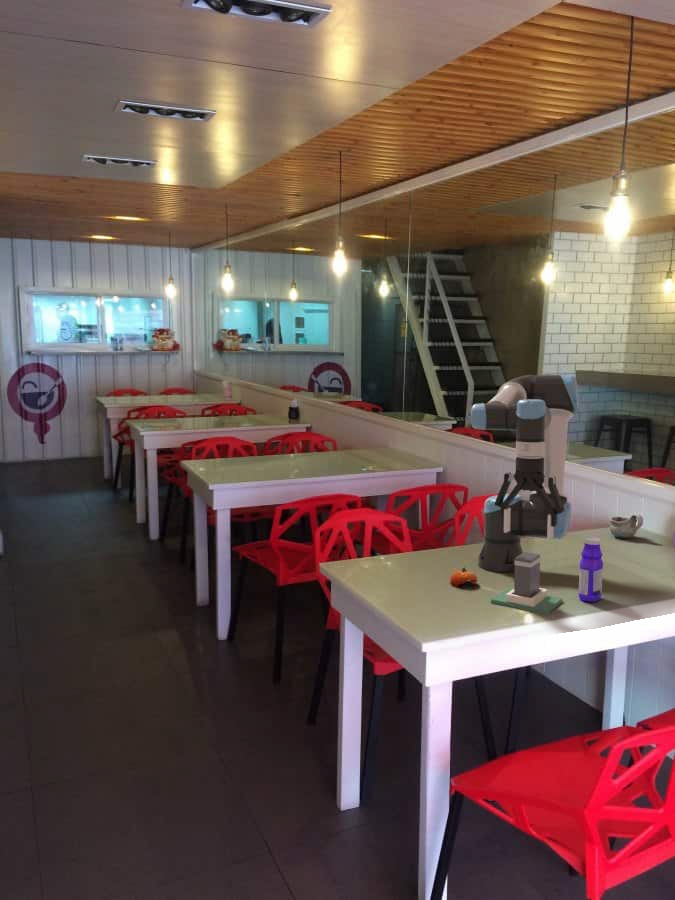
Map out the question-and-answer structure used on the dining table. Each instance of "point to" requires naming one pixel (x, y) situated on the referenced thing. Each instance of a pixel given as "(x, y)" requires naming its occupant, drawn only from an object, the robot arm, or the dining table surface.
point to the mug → (625, 525)
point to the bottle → (591, 571)
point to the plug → (527, 574)
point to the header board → (528, 601)
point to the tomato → (462, 577)
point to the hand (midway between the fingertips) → (528, 534)
